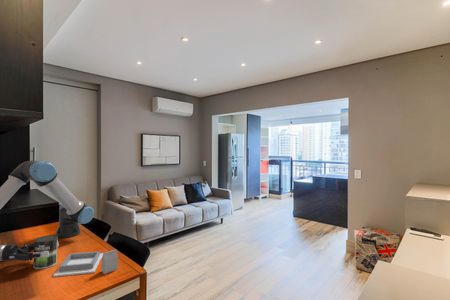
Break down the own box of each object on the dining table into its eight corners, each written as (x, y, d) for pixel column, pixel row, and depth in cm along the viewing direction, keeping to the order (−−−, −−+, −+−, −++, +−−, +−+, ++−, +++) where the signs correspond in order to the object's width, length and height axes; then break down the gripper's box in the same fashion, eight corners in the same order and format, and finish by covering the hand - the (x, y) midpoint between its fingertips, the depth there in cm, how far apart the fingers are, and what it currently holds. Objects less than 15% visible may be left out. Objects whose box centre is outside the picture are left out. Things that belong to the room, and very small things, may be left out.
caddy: (69, 257, 137) (69, 251, 137) (103, 254, 142) (103, 248, 142) (53, 276, 116) (53, 270, 116) (94, 272, 121) (94, 266, 121)
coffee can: (52, 268, 124) (53, 241, 124) (28, 270, 121) (29, 242, 121) (60, 259, 134) (61, 234, 134) (38, 261, 131) (39, 235, 131)
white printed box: (117, 269, 125) (118, 250, 125) (104, 274, 120) (104, 254, 120) (114, 267, 128) (115, 248, 128) (101, 271, 122) (102, 252, 123)
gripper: (18, 250, 134) (61, 247, 140) (-11, 271, 111) (43, 266, 117) (18, 237, 134) (62, 234, 140) (-11, 255, 111) (43, 251, 117)
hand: (53, 249), depth 129 cm, fingers open, 12 cm apart
